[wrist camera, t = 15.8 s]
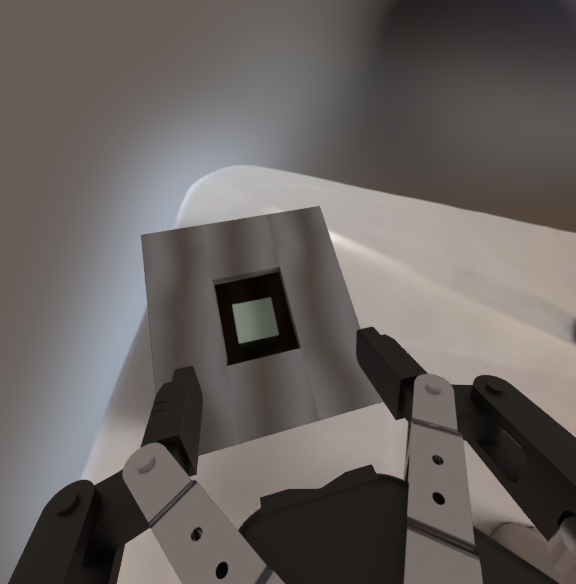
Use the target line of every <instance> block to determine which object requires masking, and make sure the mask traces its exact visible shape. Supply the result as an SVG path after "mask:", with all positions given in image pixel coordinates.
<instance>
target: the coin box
mask: <svg viewBox="0 0 576 584" xmlns="http://www.w3.org/2000/svg"><path fill="white" fill-rule="evenodd" d="M141 240H142V250H143V261H144V271H145V283H146V293H147V304H148V315H149V325H150V336H151V347H152V357H153V368H154V379H155V389H156V394H157V392H158V391H159V390H160V388H161V387H162V386H163V384H164V383H168V382H172V378H173V374H174V370H175V369H178V368H183V367H187V366H193V367H194V369H195V372H196V375H197V378H198V381H199V384H200V387H201V390H202V395H203V408H202V419H201V430H200V441H199V452H198V456H200V455H203V454H206V453H210V452H213V451H217V450H220V449H223V448H227V447H230V446H234V445H237V444H241V443H244V442H247V441H251V440H254V439H258V438H261V437H264V436H268V435H271V434H275V433H278V432H282V431H285V430H288V429H292V428H295V427H299V426H302V425H305V424H309V423H312V422H316V421H319V420H323V419H326V418H329V417H333V416H336V415H340V414H343V413H346V412H350V411H353V410H357V409H360V408H364V407H367V406H370V405H374V404H377V403H381V402H383V400H382V399H381V397H380V396H379V394H378V393H377V391H376V390H375V388H374V387H373V385H372V384H371V382H370V381H369V379H368V378H367V376H366V375H365V373H364V372H363V370H362V369H361V367H360V366H359V364H358V361H357V357H356V333H357V330H359V329H360V326H359V323H358V320H357V317H356V314H355V311H354V308H353V305H352V302H351V299H350V296H349V293H348V290H347V287H346V284H345V281H344V278H343V275H342V272H341V269H340V266H339V263H338V260H337V257H336V254H335V251H334V248H333V245H332V242H331V239H330V236H329V233H328V230H327V227H326V224H325V221H324V217H323V214H322V211H321V208H320V206H317V207H311V208H305V209H299V210H293V211H286V212H280V213H274V214H268V215H262V216H256V217H249V218H243V219H237V220H231V221H225V222H219V223H212V224H206V225H200V226H194V227H188V228H181V229H175V230H169V231H164V232H157V233H151V234H145V235H141ZM270 297H271V300H272V305H273V310H274V314H275V319H276V323H277V328H278V333H279V337H278V340H277V343H276V346H275V348H274V349H269V350H265V351H260V352H256V353H251V354H247V355H246V354H245V352H244V351H243V349H242V348H241V346H240V345H239V342H238V336H237V330H236V324H235V318H234V312H233V307H232V305H234V304H239V303H244V302H249V301H255V300H260V299H265V298H270Z"/></svg>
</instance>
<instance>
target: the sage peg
mask: <svg viewBox="0 0 576 584" xmlns="http://www.w3.org/2000/svg"><path fill="white" fill-rule="evenodd" d="M232 307H233V312H234V318H235V324H236V330H237V336H238V342H239V345H240V346H241V348H242V349H243V351H244V352H245V354H246V355H247V354H251V353H256V352H260V351H265V350H269V349H274V348H275V346H276V343H277V340H278V337H279V333H278V328H277V323H276V319H275V314H274V310H273V305H272V300H271V297H270V298H265V299H260V300H255V301H249V302H244V303H239V304H234V305H232Z"/></svg>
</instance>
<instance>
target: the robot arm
mask: <svg viewBox="0 0 576 584" xmlns="http://www.w3.org/2000/svg"><path fill="white" fill-rule="evenodd" d="M356 357H357V361H358V364H359V366H360V367H361V369H362V370H363V372H364V373H365V375H366V376H367V378H368V379H369V381H370V382H371V384H372V385H373V387H374V388H375V390H376V391H377V393H378V394H379V396H380V397H381V399H382V400H383V402H384V403H385V405H386V406H387V407H388V409H389V410H390V412H391V413H392V415H393V416H394V418H395V419H396V420H399V419H402V418H405V419H406V420H407V421H408V430H407V443H406V456H405V468H404V477H403V480H402V479H399V478H397V477H394V476H390V475H386V474H376V472H375V470H374V468H373V466H372V464H371V465H368V466H364V467H361V468H358V469H354V470H351V471H348V472H345V473H344V474H342V475H341V476H339V477H338V478H336V479H335V480H333V481H331V482H330V483H328V484H327V485H325V486H324V487H322V488H320V489H287V490H284V491H281V492H277V493H274V494H271V495H267V496H264V497H261V498H260V501H261V508H260V509H259V510H257V511H256V512H255V513H253V514H252V515H251V516H250V517H249V518H248V519H247V520H246V521H245V522H244V523H243V524H242V526H241V527H240V528H239V530H237V529H236V528H235V527H234V525H233V524H232V523H231V522H230V521H229V519H228V518H227V517H226V516H225V515H224V513H223V512H222V511H221V510H220V508H219V507H218V506H217V505H216V504H215V502H214V501H213V500H212V499H211V498H210V496H209V495H208V494H207V493H206V492H205V490H204V489H203V488H202V487H201V486H200V484H199V483H198V482H197V481H195V480H194V481H193V480H192V479H191V478H190V477H189V476H193V475H196V474H197V463H198V452H199V441H200V430H201V419H202V408H203V395H202V390H201V387H200V384H199V381H198V378H197V375H196V372H195V369H194V367H193V366H187V367H183V368H178V369H175V370H174V374H173V378H172V382H168V383H164V384H163V386H162V387H161V388H160V390H159V391H158V392H157V394H156V397H155V400H154V405H153V407H152V411H151V414H150V417H149V421H148V424H147V427H146V431H145V434H144V438H143V441H142V444H141V447H140V449H138V450H137V451H136V452H134V453H133V454H132V455H131V456H130V458H129V459H128V460H127V462H126V464H125V466H124V469H122V470H121V471H119V472H118V473H116V474H114V475H112V476H111V477H109V478H107V479H105V480H103V481H101V482H100V483H98V484H96V485H93V483H92V482H91V481H89V480H79V481H76V482H74V483H71V484H70V485H67V486H66V487H64V488H63V489H62V490H60V491H59V492H58V493H57V494H56V495H55V496H54V497H53V498H52V499H51V500H50V501H49V502H48V504H47V505H46V506H45V508H44V509H43V511H42V513H41V515H40V518H39V520H38V522H37V524H36V526H35V528H34V530H33V532H32V534H31V536H30V539H29V541H28V543H27V545H26V547H25V549H24V551H23V553H22V555H21V557H20V559H19V562H18V564H17V566H16V568H15V570H14V572H13V574H12V577H11V578H10V581H9V583H8V584H117V580H118V575H119V570H120V566H121V561H122V556H123V552H124V547H125V544H126V543H127V542H129V541H130V540H132V539H133V538H135V537H136V536H138V535H139V534H141V533H142V532H144V531H145V530H147V529H149V528H151V530H152V532H153V533H154V535H155V537H156V539H157V540H158V542H159V544H160V546H161V547H162V549H163V551H164V553H165V554H166V556H167V558H168V560H169V561H170V563H171V565H172V567H173V568H174V570H175V572H176V574H177V575H178V577H179V579H180V581H181V582H182V584H576V438H575V437H574V436H573V435H572V434H571V433H569V432H568V431H567V430H566V429H565V428H563V427H562V426H561V425H560V424H559V423H557V422H556V421H555V420H554V419H552V418H551V417H550V416H549V415H548V414H546V413H545V412H544V411H543V410H542V409H540V408H539V407H538V406H537V405H535V404H534V403H533V402H532V401H531V400H529V399H528V398H527V397H526V396H525V395H523V394H522V393H521V392H520V391H519V390H517V389H516V388H515V387H514V386H512V385H511V384H510V383H508V382H507V381H505V380H503V379H501V378H498V377H495V376H490V375H481V376H478V377H476V378H475V380H474V382H473V385H451V384H450V383H449V382H448V381H447V380H445V379H444V378H442V377H440V376H437V375H433V374H428V373H427V372H426V371H425V370H424V369H423V368H422V367H421V366H420V365H419V364H418V363H417V362H416V361H415V360H414V359H413V358H412V357H411V356H410V355H409V354H408V353H407V352H406V351H405V350H404V349H403V348H401V346H400V345H399V344H398V342H397V341H396V340H395V339H393V338H391V337H389V336H387V335H385V334H384V335H380V334H379V333H378V332H377V331H376V329H375V328H374V327H368V328H363V329H359V330H357V333H356ZM512 439H513V440H514V441H515V442H516V443H517V444H518V445H519V446H520V447H521V448H522V449H521V448H520V447H519V446H518V445H517V444H516V443H515V442H514V441H513V440H512ZM463 440H466V441H467V442H468V443H469V445H470V446H471V447H472V448H473V450H474V451H475V452H476V453H477V454H478V456H479V457H480V458H481V459H482V461H483V462H484V463H485V464H486V466H487V467H488V468H489V469H490V471H491V472H492V473H493V474H494V476H495V477H496V478H497V479H498V481H499V482H500V483H501V484H502V486H503V487H504V488H505V489H506V491H507V492H508V493H509V494H510V495H511V497H512V498H513V499H514V500H515V502H516V503H517V504H518V505H519V507H520V508H521V509H522V510H523V512H524V513H525V514H526V515H527V517H528V518H529V519H530V520H531V522H532V523H533V524H534V525H535V527H534V528H527V527H525V526H523V525H521V524H516V523H507V524H504V525H502V526H500V527H499V528H497V529H496V530H495V531H494V533H493V534H492V535H491V537H489V536H488V535H486V534H485V533H483V532H482V531H480V530H479V529H477V528H476V527H474V526H473V524H472V515H471V506H470V497H469V488H468V479H467V470H466V461H465V452H464V443H463Z"/></svg>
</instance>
